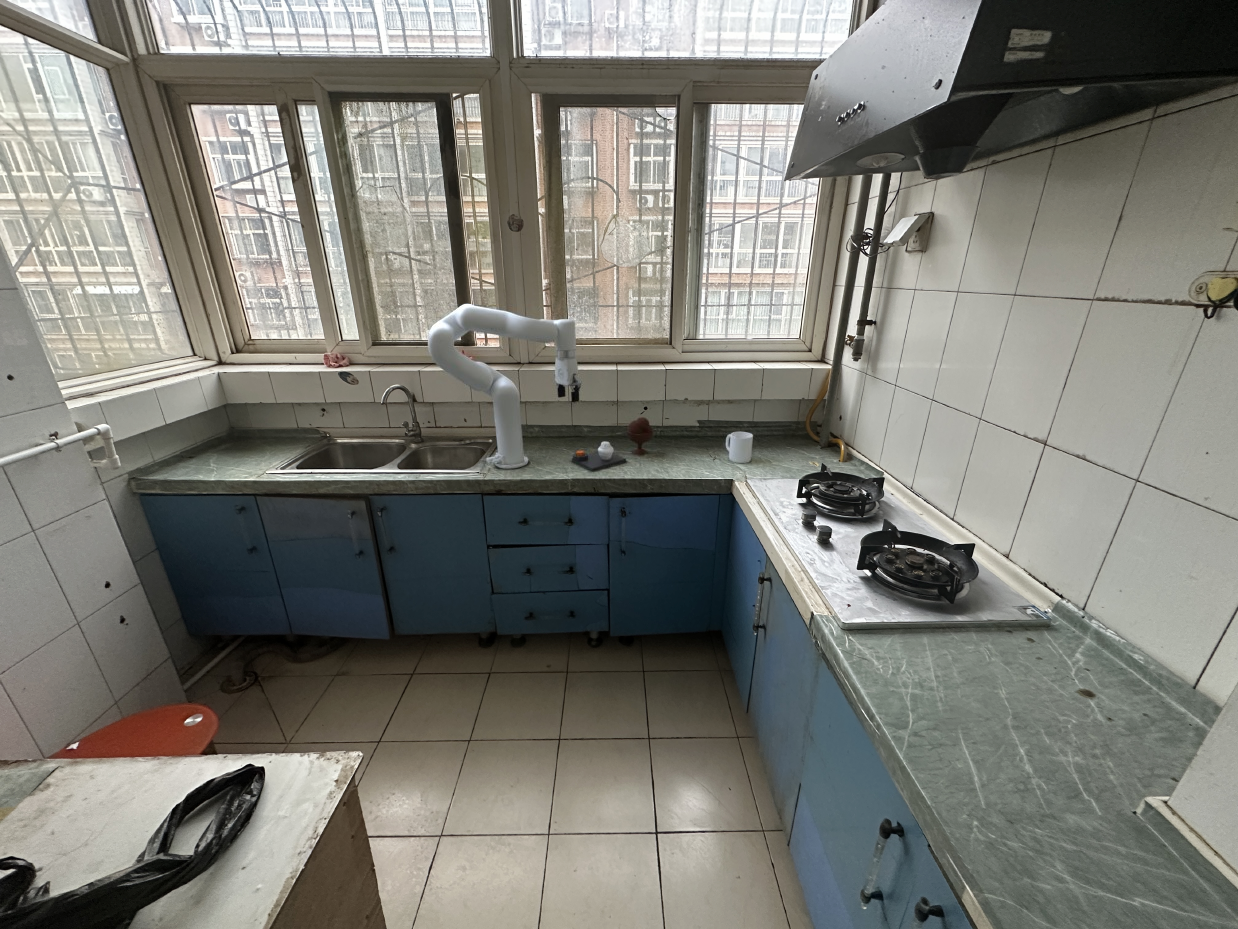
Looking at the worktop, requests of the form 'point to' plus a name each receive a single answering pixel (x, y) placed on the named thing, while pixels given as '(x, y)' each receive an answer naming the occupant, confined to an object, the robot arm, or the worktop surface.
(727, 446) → the cup
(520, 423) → the robot arm
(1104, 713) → the worktop surface
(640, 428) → the ice cream bowl
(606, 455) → the muffin
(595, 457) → the scale
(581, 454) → the button
